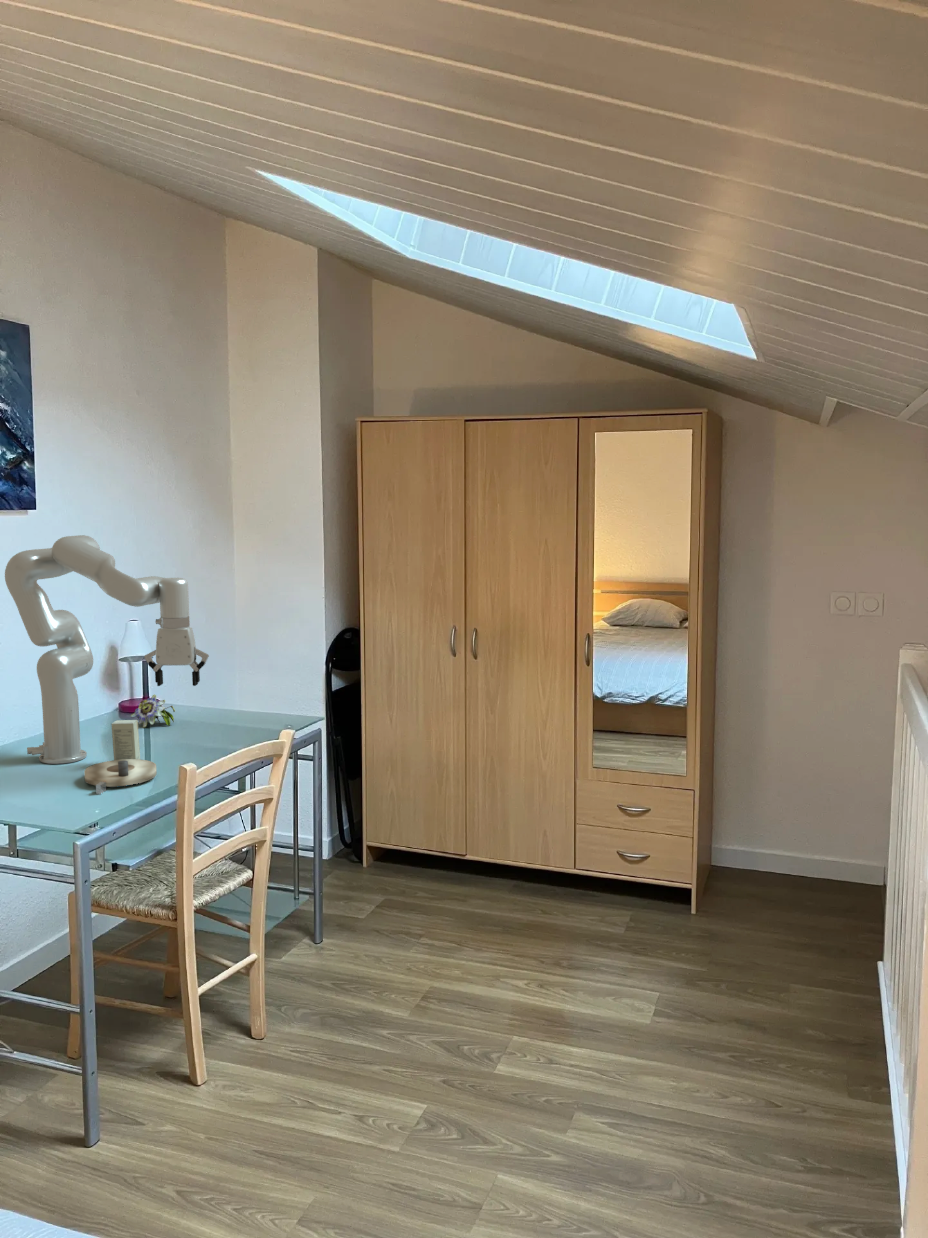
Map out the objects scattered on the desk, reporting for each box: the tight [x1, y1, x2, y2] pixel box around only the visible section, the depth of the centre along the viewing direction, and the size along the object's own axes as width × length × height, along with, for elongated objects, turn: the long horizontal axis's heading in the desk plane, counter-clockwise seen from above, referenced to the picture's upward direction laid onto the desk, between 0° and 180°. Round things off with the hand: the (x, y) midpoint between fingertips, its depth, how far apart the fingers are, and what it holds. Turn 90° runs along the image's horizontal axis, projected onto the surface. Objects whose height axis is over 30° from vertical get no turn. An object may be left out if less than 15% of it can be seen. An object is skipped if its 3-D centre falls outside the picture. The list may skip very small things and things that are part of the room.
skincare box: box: [111, 719, 141, 760], centre depth 275 cm, size 6×4×12 cm
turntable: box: [84, 758, 158, 788], centre depth 260 cm, size 18×18×6 cm
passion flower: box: [130, 694, 176, 729], centre depth 321 cm, size 11×11×12 cm
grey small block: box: [95, 781, 107, 795], centre depth 249 cm, size 4×1×2 cm, turn 175°
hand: (177, 685), depth 270 cm, fingers open, 9 cm apart
